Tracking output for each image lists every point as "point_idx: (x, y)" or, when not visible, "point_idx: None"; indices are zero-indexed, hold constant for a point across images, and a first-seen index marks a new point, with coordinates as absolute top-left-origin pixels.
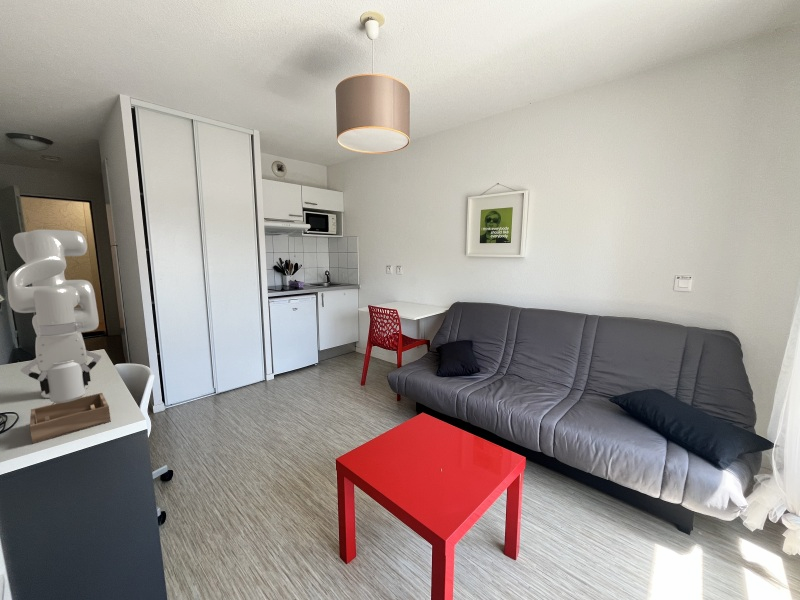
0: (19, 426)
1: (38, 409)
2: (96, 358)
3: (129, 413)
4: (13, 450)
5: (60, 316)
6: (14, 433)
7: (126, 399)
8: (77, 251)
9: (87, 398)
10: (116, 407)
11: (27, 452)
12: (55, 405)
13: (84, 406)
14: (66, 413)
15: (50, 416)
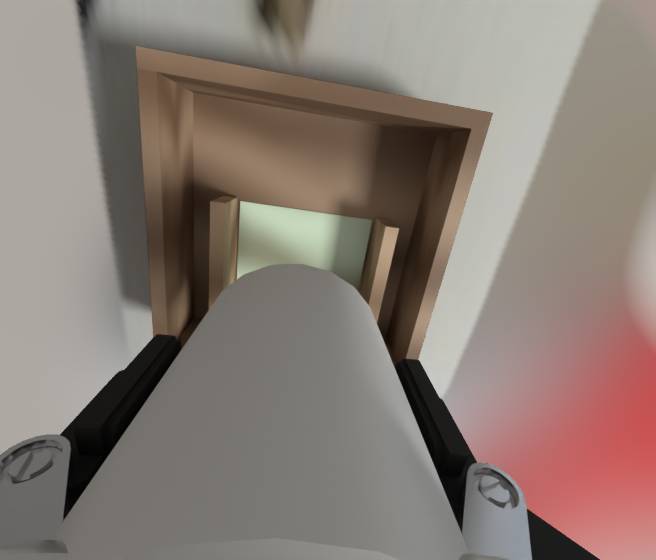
0: (126, 21)
1: (176, 75)
2: None
3: (458, 320)
4: (140, 323)
5: None
6: (119, 126)
7: (550, 109)
8: None
9: (409, 120)
10: (469, 196)
11: None
12: (258, 91)
13: (380, 122)
14: (304, 110)
15: (241, 99)
